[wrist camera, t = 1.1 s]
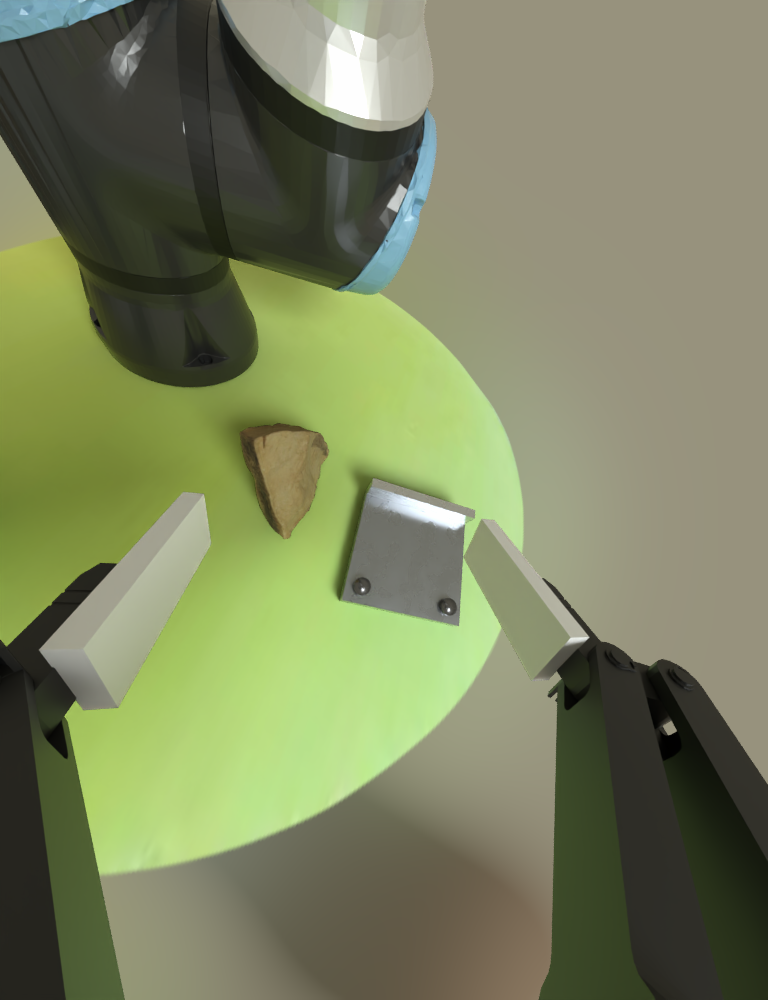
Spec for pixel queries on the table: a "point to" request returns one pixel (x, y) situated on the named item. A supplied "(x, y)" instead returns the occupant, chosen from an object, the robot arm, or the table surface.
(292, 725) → the table surface
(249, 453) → the rock
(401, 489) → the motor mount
